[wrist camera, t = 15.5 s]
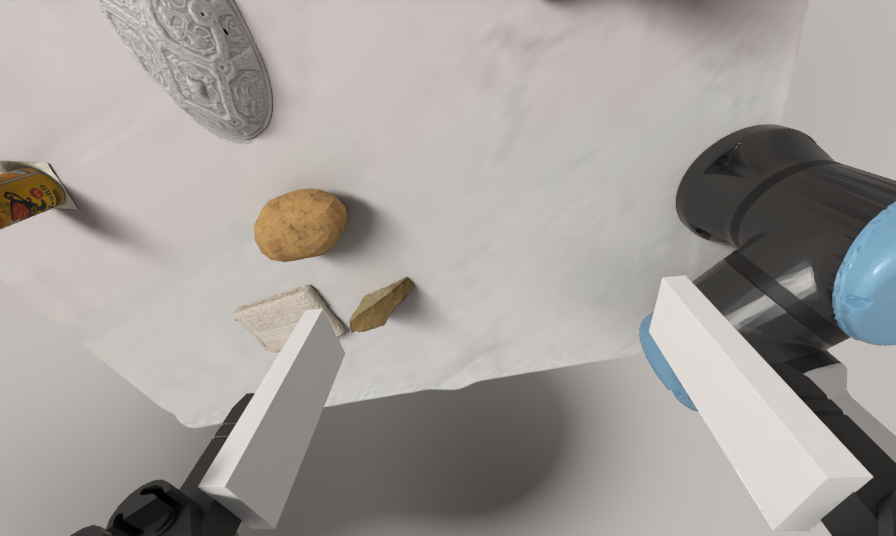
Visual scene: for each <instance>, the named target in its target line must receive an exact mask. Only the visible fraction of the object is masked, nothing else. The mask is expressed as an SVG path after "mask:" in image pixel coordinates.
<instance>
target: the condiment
mask: <svg viewBox="0 0 896 536" xmlns="http://www.w3.org/2000/svg"><path fill="white" fill-rule="evenodd" d="M0 173H1V174H0V229H3V228H5V227H7V226H10V225H12V224H14V223H17V222H20V221H22V220H25V219H27V218H30V217H32V216H35V215H37V214H40V213H42V212H45V211H47V210H50V209H52V208H60V209H77V207H76V206H75V204H74V202H73V201H72V199H71V197H70V196H69V194H68V193H67V191H66V189H65V188H64V187H63V185H62V184H61V182H60V181H59V179H58V178H57V177H56V175H55V174H54V173H53V171H52V170H51V168H50V167H49V165H48V164H47V163H36V162H11V161H0ZM77 210H78V209H77Z"/></svg>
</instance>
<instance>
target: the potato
mask: <svg viewBox="0 0 896 536" xmlns="http://www.w3.org/2000/svg"><path fill="white" fill-rule="evenodd" d="M346 222H347V215H346V209H345V206H344V205H343V204H342V203H341V201H340V200H339V199H338V198H337V197H336V196H335V195H332V194H330V193H327V192H325V191H322V190H319V189H302V190H297V191H293V192H290V193H287V194H284V195H282V196H279V197H277V198H274V199H272V200H270V201H268V203H267V204H266V205H265V206H264V207H263V208H262V210H261V213H260V215H259V217H258V219H257V220H256V222H255V224H254V230H255V241H256V243H257V245H258V247H259V249H260V251H261V252H262V253H263V254H264V255H266V256H267V257H268V258H269V259H271V260H276V261H283V262H287V261H295V260H300V259H304V258H310V257H316V256H319V255H322V254H324V253H326V252H328V251H329V250H330V249H331V248H332V247H333V246H334V245H335V243H336V242H337V241H338V239H339V238H340V236H341V235H342V233H343V231H344V228H345V226H346Z"/></svg>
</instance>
